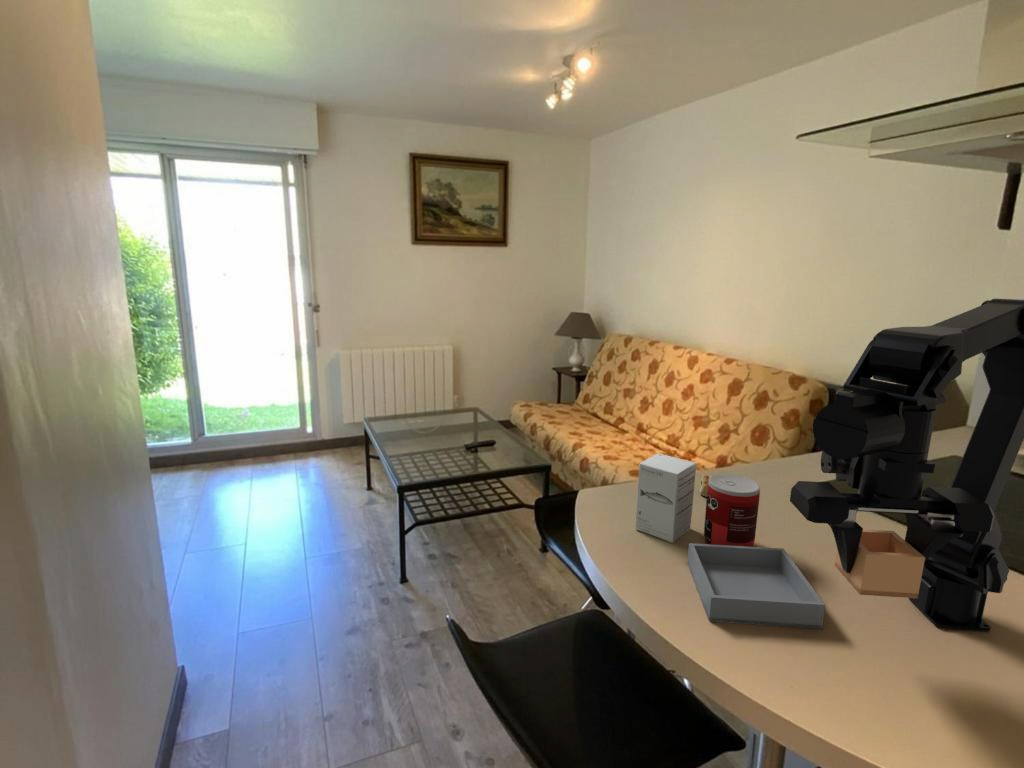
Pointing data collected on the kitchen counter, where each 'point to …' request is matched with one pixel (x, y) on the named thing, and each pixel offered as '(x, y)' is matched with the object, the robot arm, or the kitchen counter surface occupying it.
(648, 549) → the kitchen counter surface
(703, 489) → the pastry
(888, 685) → the kitchen counter surface
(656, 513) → the supplement box
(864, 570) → the small crate
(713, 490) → the canned food
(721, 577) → the grey square tray
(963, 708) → the kitchen counter surface
